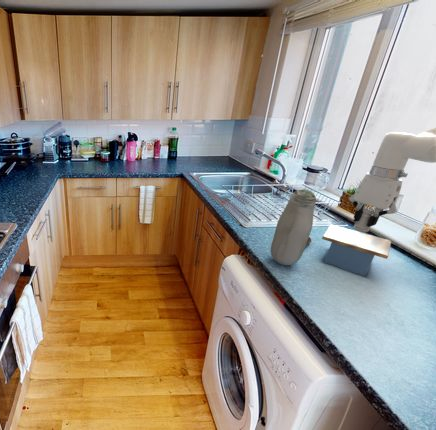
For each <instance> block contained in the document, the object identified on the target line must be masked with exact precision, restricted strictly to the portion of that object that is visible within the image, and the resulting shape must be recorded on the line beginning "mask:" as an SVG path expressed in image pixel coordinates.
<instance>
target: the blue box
mask: <svg viewBox="0 0 436 430" xmlns="http://www.w3.org/2000/svg"><path fill="white" fill-rule="evenodd" d="M375 257H376V255H372V254H369V253H366V252H363V251H359V250H356V249H353V248H350V247H346V246H343V245H340V244H337V243H333V242H330V245H329V247H328V251H327V253H326V255H325V258H324V261H323V262H324V263H325V264H329V265H331V266H334V267H337V268H340V269H342V270H343V269H344V270H346V271H348V272H352V273H354V274H357V275H360V276H363V277H366V275H367V273H368V270H369V268H370V266H371V264H372V262H373V261H374V258H375Z"/></svg>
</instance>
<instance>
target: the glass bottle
mask: <svg viewBox="0 0 436 430" xmlns="http://www.w3.org/2000/svg"><path fill="white" fill-rule="evenodd" d="M316 203H317V197H316V195H315V193H314V192H313V191H311V190H309V189H304V188H303V189H297V190H295V191H294V192H292V194H291V195H290V197H289V199H288V201H287V203H286V205H285V208H284V210H283V211H282V212H281V214H280V216H279V218H278V220H277V223H276V227H275V230H274V235H273V238H272V242H271V245H270V255H271V258H272V259H273V260H274V261H275V262H276V263H277V264H279V265H283V266H292V265H294V264H296V263H298V261H300V260H301V258H302V256H303V254H304V252H305V248H306V246H307V245H306V243H307V241H308V238H309V237H310V235H311V232H312V229H313V225H314V212H315V207H316Z"/></svg>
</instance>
